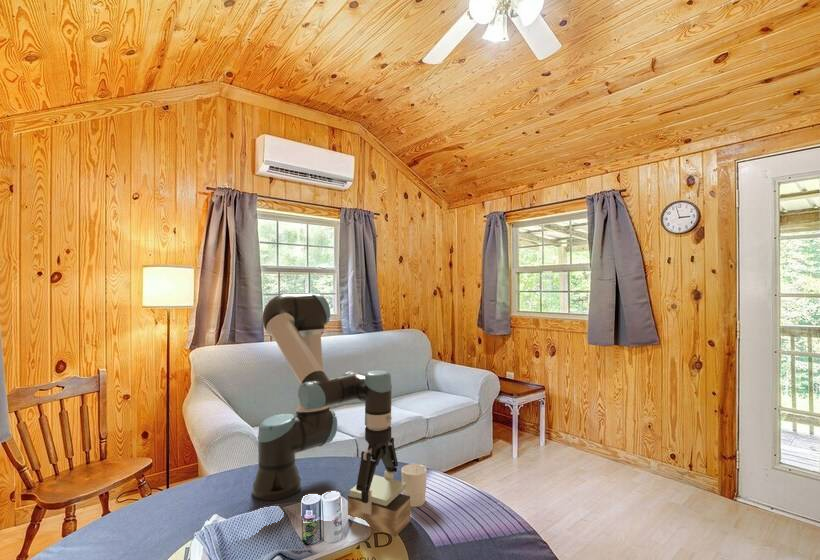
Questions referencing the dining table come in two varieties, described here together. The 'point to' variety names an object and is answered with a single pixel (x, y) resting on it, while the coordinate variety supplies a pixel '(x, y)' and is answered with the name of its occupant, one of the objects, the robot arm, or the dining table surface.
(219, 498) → the dining table surface
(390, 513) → the stand
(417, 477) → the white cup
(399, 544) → the dining table surface
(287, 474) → the robot arm
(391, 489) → the cover board
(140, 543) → the dining table surface
